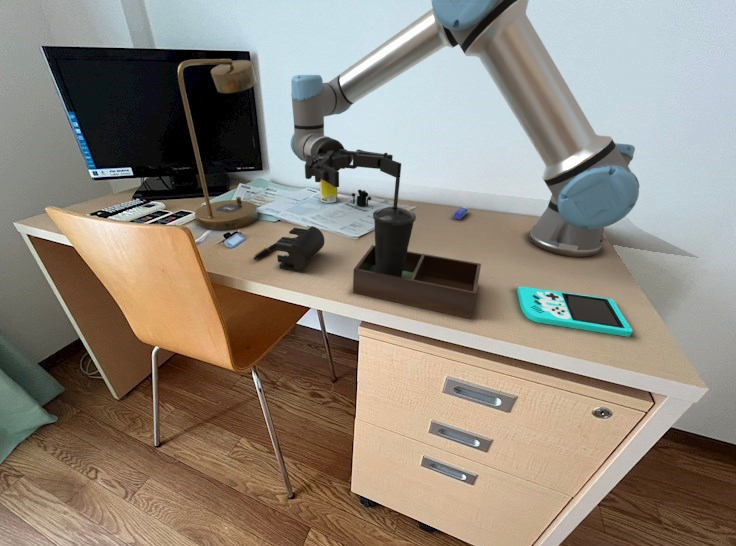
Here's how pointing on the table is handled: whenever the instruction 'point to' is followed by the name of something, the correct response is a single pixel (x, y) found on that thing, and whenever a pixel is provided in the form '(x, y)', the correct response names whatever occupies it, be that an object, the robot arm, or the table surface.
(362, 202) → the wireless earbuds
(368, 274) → the divided storage box
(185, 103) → the lamp
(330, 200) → the supplement bottle
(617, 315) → the handheld game console
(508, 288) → the table surface
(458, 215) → the eraser
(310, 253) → the end cap
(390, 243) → the drinking cup
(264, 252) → the fountain pen
